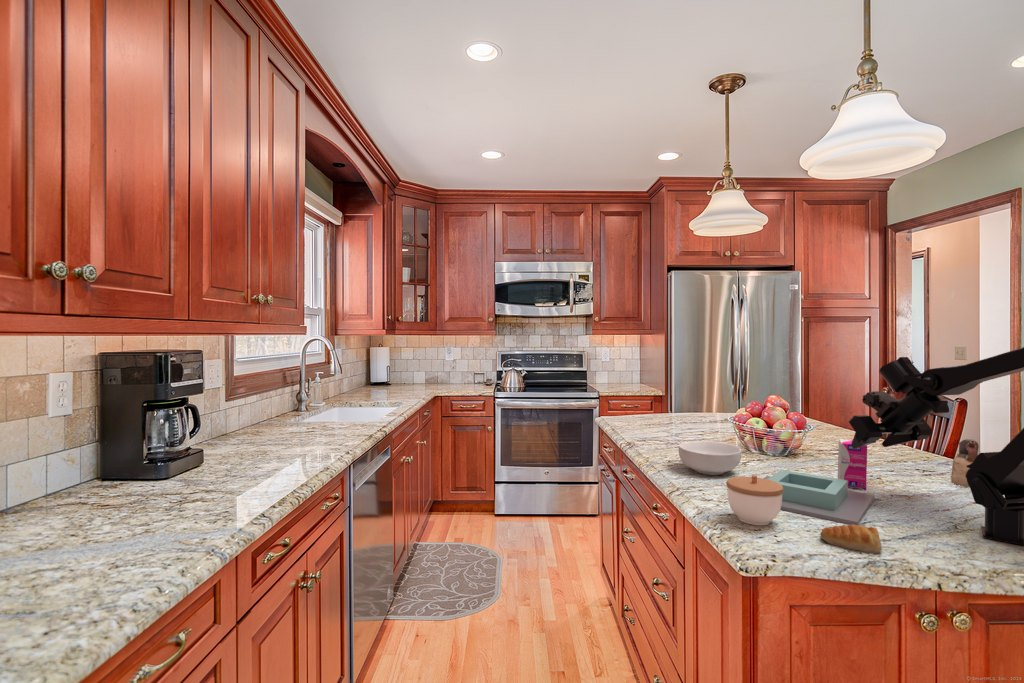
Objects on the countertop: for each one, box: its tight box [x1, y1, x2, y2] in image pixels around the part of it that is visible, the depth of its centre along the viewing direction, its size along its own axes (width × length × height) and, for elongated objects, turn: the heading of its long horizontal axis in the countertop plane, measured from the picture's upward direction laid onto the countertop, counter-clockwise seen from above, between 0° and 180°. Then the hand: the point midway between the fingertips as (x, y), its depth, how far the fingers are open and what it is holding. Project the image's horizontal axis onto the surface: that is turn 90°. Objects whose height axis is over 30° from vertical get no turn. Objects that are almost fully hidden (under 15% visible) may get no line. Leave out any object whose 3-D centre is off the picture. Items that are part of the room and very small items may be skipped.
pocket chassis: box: [762, 469, 876, 525], centre depth 122 cm, size 24×24×4 cm
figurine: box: [950, 438, 980, 488], centre depth 134 cm, size 7×7×12 cm
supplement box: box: [837, 438, 868, 491], centre depth 133 cm, size 6×6×12 cm
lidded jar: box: [726, 474, 783, 526], centre depth 108 cm, size 11×11×9 cm
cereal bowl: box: [678, 440, 742, 476], centre depth 146 cm, size 17×17×7 cm
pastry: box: [820, 524, 883, 554], centre depth 96 cm, size 9×7×4 cm
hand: (868, 446), depth 128 cm, fingers open, 9 cm apart
